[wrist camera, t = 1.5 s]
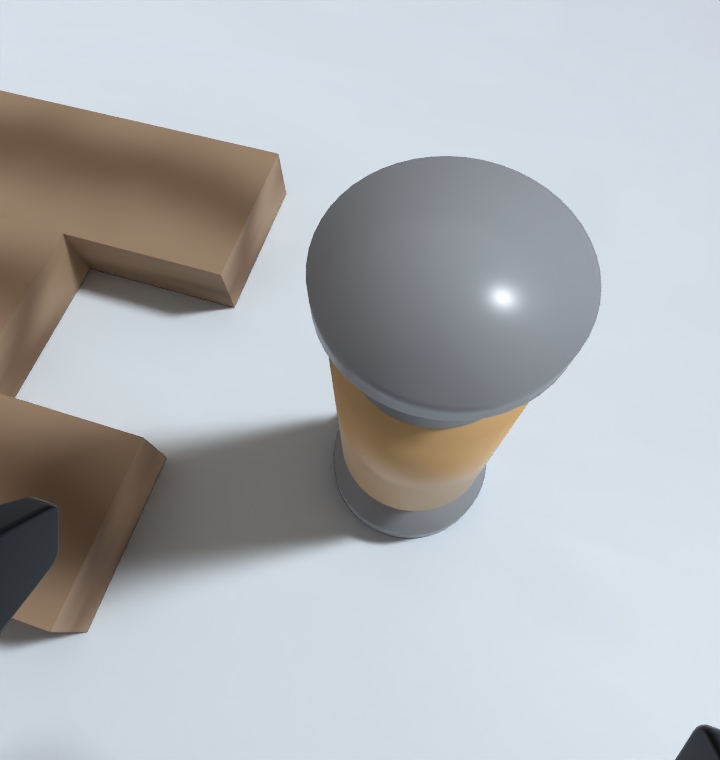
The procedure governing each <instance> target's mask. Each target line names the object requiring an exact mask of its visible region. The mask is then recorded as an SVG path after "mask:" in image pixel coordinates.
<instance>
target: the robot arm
mask: <svg viewBox="0 0 720 760" xmlns="http://www.w3.org/2000/svg"><path fill="white" fill-rule="evenodd" d="M58 551H59V510H58V508H57V506H56V505H54V504H53V503H50V502H47V501H44V500H41V499H38V498H35V497H26V498H22V499H18V500H15V501H11V502H7V503H4V504H0V633H1V632H2V630H3V629H4V628H5V626H6V625H7V624H8V623H9V621H10V620H11V619H12V617H13V616H14V615H15V614H16V612H17V611H18V610H19V608H20V607H21V606H22V605H23V603H24V602H25V601H26V599H27V598H28V597H29V595H30V594H31V593H32V592H33V590H34V589H35V588H36V586H37V585H38V584H39V583H40V581H41V580H42V579H43V577H44V576H45V575H46V574H47V572H48V571H49V570H50V568H51V567H52V565H53V564H54V562H55V560H56V558H57V555H58ZM675 760H720V729H718V728H715V727H712V726H709V725H700V726H698V727H696V729H695V730H694V731H693V733H692V734H691V736H690V737H689V739H688V740H687V742H686V744H685V745H684V747H683V748H682V750H681V751H680V753H679V755H678V756H677V758H676V759H675Z"/></svg>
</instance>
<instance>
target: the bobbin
mask: <svg viewBox="0 0 720 760" xmlns="http://www.w3.org/2000/svg"><path fill="white" fill-rule="evenodd" d="M306 284H307V291H308V297H309V303H310V308H311V314H312V319H313V323H314V326H315V329H316V333H317V336H318V338H319V340H320V342H321V344H322V346H323V348H324V350H325V352H326V353H327V355H328V356H329V362H330V368H331V375H332V382H333V388H334V395H335V402H336V409H337V415H338V422H339V432H338V434H337V437H336V441H335V446H334V453H333V455H334V470H335V475H336V480H337V483H338V487H339V490H340V492H341V494H342V497H343V499H344V500H345V502H346V503H347V505H348V507H349V508H350V509H351V510H352V512H353V513H354V514H355V515H356V516H357V517H358V518H359V519H360V520H361V521H363V522H364V523H366V524H367V525H368V526H370V527H372V528H373V529H375V530H377V531H379V532H382V533H384V534H387V535H391V536H395V537H401V538H419V537H425V536H430V535H433V534H436V533H438V532H441V531H443V530H445V529H447V528H448V527H450V526H451V525H453V524H454V523H455V522H456V521H458V520H459V519H460V518H461V517H462V516H463V515H464V514H465V512H466V511H467V510H468V509H469V508H470V506H471V505H472V504H473V502H474V501H475V499H476V498H477V496H478V494H479V492H480V489H481V487H482V484H483V481H484V477H485V470H486V463H487V462H488V460H489V459H490V457H491V456H492V455H493V453H494V452H495V450H496V449H497V447H498V446H499V444H500V443H501V442H502V440H503V439H504V437H505V436H506V434H507V433H508V431H509V430H510V429H511V427H512V426H513V424H514V423H515V421H516V420H517V418H518V417H519V416H520V414H521V413H522V411H523V410H524V408H525V407H526V405H527V404H528V402H529V401H531V400H533V399H534V398H536V397H537V396H539V395H540V394H542V393H543V392H544V391H545V390H546V389H548V388H549V387H550V386H551V385H552V384H553V383H554V382H555V381H556V380H557V379H558V378H559V377H560V376H561V374H562V373H563V372H564V371H565V370H566V368H567V367H568V366H569V364H570V363H571V362H572V360H573V359H574V358H575V356H576V355H577V354H578V352H579V351H580V349H581V348H582V346H583V345H584V343H585V342H586V340H587V338H588V337H589V335H590V333H591V330H592V328H593V326H594V323H595V321H596V318H597V314H598V310H599V306H600V297H601V276H600V268H599V264H598V260H597V255H596V253H595V250H594V248H593V245H592V242H591V240H590V238H589V236H588V235H587V233H586V231H585V229H584V227H583V226H582V224H581V223H580V222H579V220H578V219H577V218H576V216H575V215H574V213H573V212H572V211H571V210H570V209H569V208H568V207H567V206H566V205H565V204H564V203H563V202H562V201H561V200H560V199H559V198H558V197H557V196H556V195H554V194H553V193H552V192H551V191H549V190H548V189H547V188H545V187H544V186H542V185H541V184H539V183H538V182H536V181H535V180H533V179H531V178H529V177H527V176H525V175H523V174H522V173H520V172H518V171H515V170H513V169H510V168H507V167H505V166H502V165H499V164H495V163H492V162H488V161H484V160H479V159H473V158H467V157H453V156H440V157H426V158H418V159H412V160H408V161H404V162H400V163H396V164H394V165H391V166H388V167H385V168H382V169H380V170H378V171H376V172H374V173H372V174H370V175H368V176H366V177H365V178H363V179H362V180H360V181H358V182H357V183H355V184H354V185H352V186H351V187H350V188H349V189H348V190H346V191H345V192H344V193H343V194H342V195H340V197H339V198H338V199H337V200H336V201H335V202H334V203H333V204H332V205H331V206H330V208H329V209H328V210H327V212H326V213H325V215H324V216H323V218H322V219H321V221H320V223H319V225H318V227H317V229H316V230H315V232H314V235H313V238H312V241H311V244H310V247H309V251H308V257H307V263H306Z"/></svg>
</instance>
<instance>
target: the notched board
mask: <svg viewBox="0 0 720 760" xmlns="http://www.w3.org/2000/svg"><path fill="white" fill-rule="evenodd" d="M285 195H286V190H285V185H284V180H283V175H282V170H281V165H280V159H279V154H277V153H272V152H268V151H264V150H259V149H255V148H251V147H246V146H242V145H237V144H233V143H229V142H224V141H220V140H215V139H211V138H207V137H202V136H198V135H193V134H189V133H185V132H180V131H176V130H171V129H167V128H163V127H158V126H154V125H149V124H145V123H141V122H136V121H132V120H127V119H123V118H119V117H114V116H110V115H105V114H101V113H97V112H92V111H88V110H83V109H79V108H75V107H70V106H66V105H61V104H57V103H53V102H48V101H44V100H39V99H35V98H31V97H26V96H22V95H17V94H13V93H9V92H4V91H0V504H4V503H7V502H11V501H15V500H18V499H22V498H26V497H35V498H38V499H41V500H44V501H47V502H50V503H53V504H54V505H56V506H57V508H58V510H59V551H58V555H57V558H56V560H55V562H54V564H53V565H52V567H51V568H50V570H49V571H48V572H47V574H46V575H45V576H44V577H43V579H42V580H41V581H40V583H39V584H38V585H37V586H36V588H35V589H34V590H33V592H32V593H31V594H30V595H29V597H28V598H27V599H26V601H25V602H24V603H23V605H22V606H21V607H20V608H19V610H18V611H17V612H16V614H15V615H14V616H13V617H12V618H13V619H15V620H18V621H21V622H24V623H26V624H29V625H32V626H35V627H37V628H40V629H43V630H46V631H48V632H87V631H88V629H89V627H90V625H91V623H92V620H93V618H94V616H95V614H96V612H97V609H98V607H99V605H100V603H101V601H102V598H103V596H104V594H105V592H106V590H107V587H108V585H109V583H110V581H111V579H112V576H113V574H114V572H115V570H116V568H117V565H118V563H119V561H120V559H121V557H122V554H123V552H124V550H125V548H126V545H127V543H128V541H129V539H130V537H131V534H132V532H133V530H134V528H135V526H136V523H137V521H138V519H139V517H140V515H141V512H142V510H143V508H144V506H145V504H146V501H147V499H148V497H149V495H150V493H151V490H152V488H153V486H154V484H155V482H156V479H157V477H158V475H159V473H160V471H161V468H162V466H163V464H164V462H165V460H166V457H165V456H164V455H163V454H162V453H161V452H160V451H158V450H157V449H156V448H155V447H154V446H153V445H151V444H150V443H149V442H148V441H147V440H145V439H144V438H143V437H140V436H136V435H133V434H130V433H127V432H123V431H120V430H117V429H114V428H110V427H107V426H104V425H101V424H97V423H94V422H91V421H88V420H84V419H81V418H78V417H74V416H71V415H68V414H65V413H61V412H58V411H55V410H52V409H48V408H45V407H42V406H39V405H35V404H32V403H29V402H26V401H22V400H19V399H16V398H15V396H16V395H17V393H18V391H19V390H20V388H21V386H22V384H23V383H24V381H25V379H26V378H27V376H28V374H29V372H30V371H31V369H32V367H33V366H34V364H35V362H36V360H37V359H38V357H39V355H40V354H41V352H42V350H43V349H44V347H45V345H46V343H47V342H48V340H49V338H50V337H51V335H52V333H53V331H54V330H55V328H56V326H57V325H58V323H59V321H60V319H61V318H62V316H63V314H64V313H65V311H66V309H67V307H68V306H69V304H70V302H71V301H72V299H73V297H74V295H75V294H76V292H77V290H78V289H79V287H80V285H81V283H82V282H83V280H84V278H85V277H86V275H87V273H88V271H89V270H90V269H93V270H97V271H101V272H105V273H108V274H112V275H116V276H120V277H123V278H127V279H131V280H134V281H138V282H142V283H146V284H149V285H153V286H157V287H161V288H164V289H168V290H172V291H176V292H179V293H183V294H187V295H190V296H194V297H198V298H202V299H205V300H209V301H213V302H217V303H220V304H224V305H228V306H232V307H235V305H236V303H237V301H238V299H239V296H240V294H241V292H242V290H243V288H244V285H245V283H246V281H247V279H248V277H249V274H250V272H251V270H252V268H253V266H254V263H255V261H256V259H257V257H258V255H259V252H260V250H261V248H262V246H263V244H264V241H265V239H266V237H267V235H268V232H269V230H270V228H271V226H272V224H273V221H274V219H275V217H276V215H277V213H278V210H279V208H280V206H281V204H282V202H283V199H284V197H285Z"/></svg>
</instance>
